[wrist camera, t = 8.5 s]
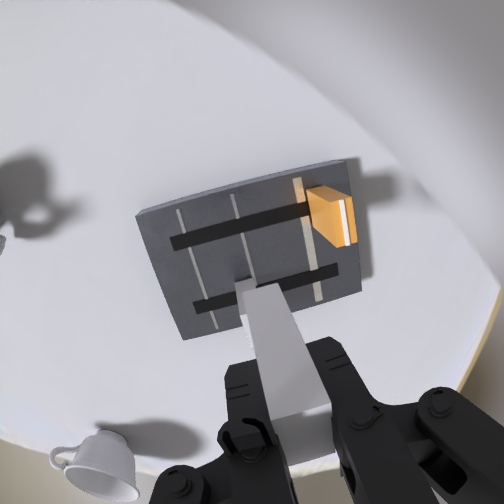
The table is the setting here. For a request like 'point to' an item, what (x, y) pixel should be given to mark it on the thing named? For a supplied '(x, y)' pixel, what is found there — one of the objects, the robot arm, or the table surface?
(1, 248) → the mug
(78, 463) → the teacup
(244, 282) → the fader white
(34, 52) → the table surface
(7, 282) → the table surface
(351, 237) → the fader orange
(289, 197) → the console
